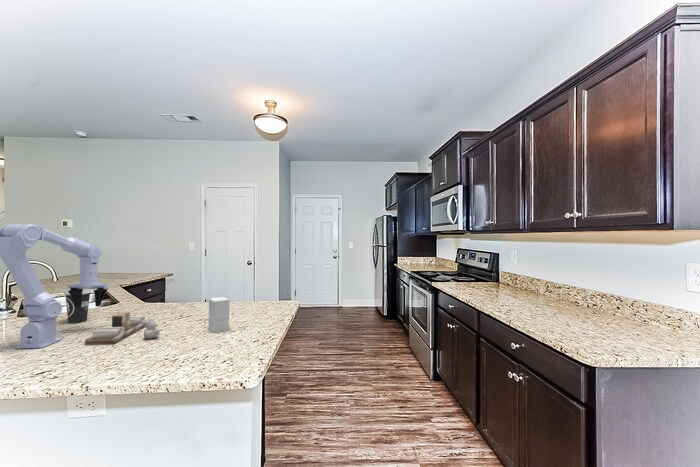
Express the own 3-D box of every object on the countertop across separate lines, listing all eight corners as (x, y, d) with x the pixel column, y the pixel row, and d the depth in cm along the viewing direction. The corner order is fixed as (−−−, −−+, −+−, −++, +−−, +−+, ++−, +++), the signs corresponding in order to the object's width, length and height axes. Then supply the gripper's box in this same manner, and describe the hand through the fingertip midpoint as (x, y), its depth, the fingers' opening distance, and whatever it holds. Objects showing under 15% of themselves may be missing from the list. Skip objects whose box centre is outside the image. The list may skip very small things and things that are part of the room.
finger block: (121, 332, 127) (122, 315, 127) (110, 333, 126) (111, 315, 126) (129, 328, 132) (130, 311, 132) (119, 328, 132) (119, 311, 132)
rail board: (114, 344, 117) (115, 332, 117) (84, 344, 116) (85, 333, 116) (150, 324, 143) (150, 314, 143) (125, 324, 142) (126, 315, 142)
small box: (229, 330, 136) (229, 299, 136) (213, 333, 132) (214, 301, 132) (223, 326, 142) (223, 296, 142) (207, 328, 138) (208, 298, 138)
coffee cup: (78, 324, 141) (79, 290, 141) (57, 324, 141) (58, 290, 141) (96, 319, 150) (97, 286, 150) (76, 318, 150) (77, 286, 151)
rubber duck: (151, 335, 128) (151, 315, 128) (164, 337, 126) (165, 316, 126) (139, 339, 122) (139, 318, 123) (153, 341, 121) (153, 320, 121)
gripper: (113, 272, 138) (112, 303, 138) (76, 272, 136) (75, 304, 136) (103, 274, 131) (102, 307, 131) (63, 274, 129) (63, 308, 129)
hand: (88, 306), depth 133 cm, fingers open, 7 cm apart
